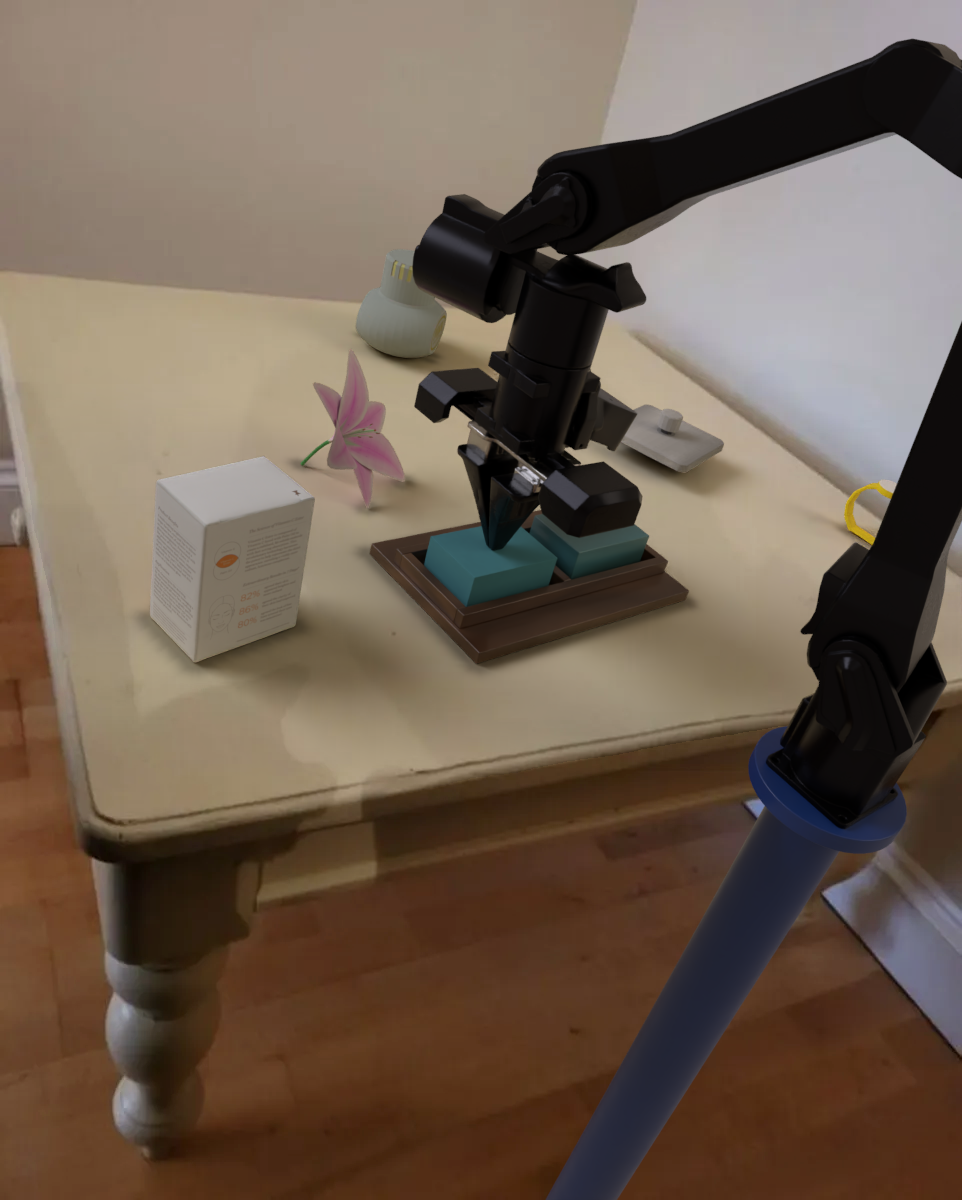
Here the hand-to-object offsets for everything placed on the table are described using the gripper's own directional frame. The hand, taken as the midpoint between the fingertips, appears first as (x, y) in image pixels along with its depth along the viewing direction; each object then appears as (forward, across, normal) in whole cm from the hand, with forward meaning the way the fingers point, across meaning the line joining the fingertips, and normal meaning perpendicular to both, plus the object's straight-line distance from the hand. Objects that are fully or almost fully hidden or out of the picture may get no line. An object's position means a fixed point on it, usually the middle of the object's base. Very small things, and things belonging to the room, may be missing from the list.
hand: (494, 547), depth 76 cm
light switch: (+4, +13, -33) cm, 36 cm away
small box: (+4, +3, +20) cm, 21 cm away
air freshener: (+4, +41, -19) cm, 45 cm away
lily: (+4, +17, +2) cm, 18 cm away
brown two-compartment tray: (+4, 0, -5) cm, 6 cm away
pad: (+3, 0, 0) cm, 3 cm away
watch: (+4, -6, -44) cm, 45 cm away
